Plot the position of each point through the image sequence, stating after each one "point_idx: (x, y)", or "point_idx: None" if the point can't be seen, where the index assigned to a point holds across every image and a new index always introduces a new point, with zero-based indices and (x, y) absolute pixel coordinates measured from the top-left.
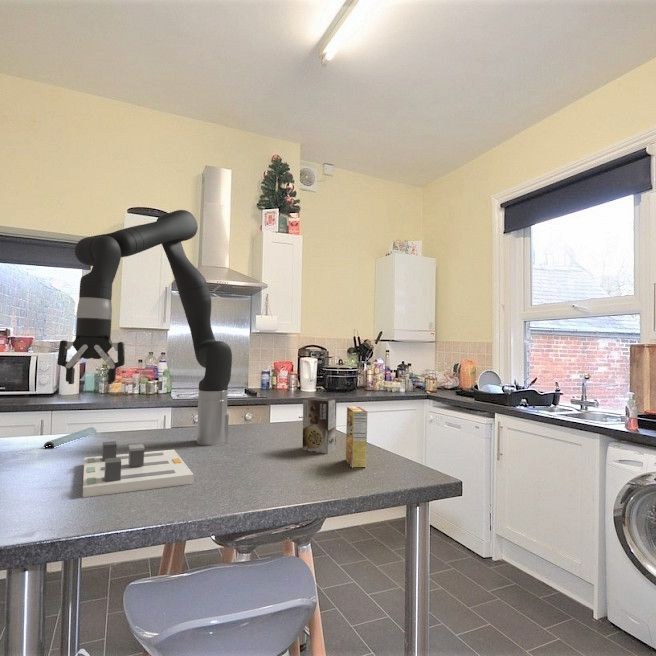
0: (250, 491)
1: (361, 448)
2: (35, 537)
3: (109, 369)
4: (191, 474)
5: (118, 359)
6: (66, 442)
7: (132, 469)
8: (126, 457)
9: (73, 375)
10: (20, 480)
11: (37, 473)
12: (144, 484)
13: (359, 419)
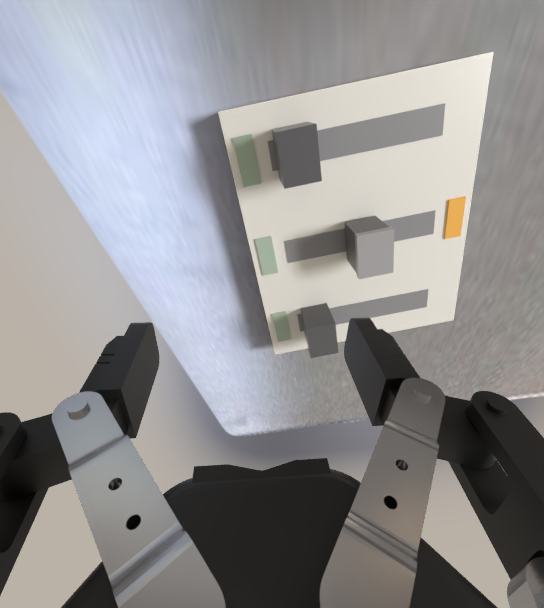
0: (509, 348)
1: None
2: (250, 427)
3: (376, 423)
4: (449, 320)
5: (472, 495)
6: None
7: (351, 267)
8: (339, 148)
9: (141, 370)
10: (109, 207)
11: (116, 149)
12: None
13: None
